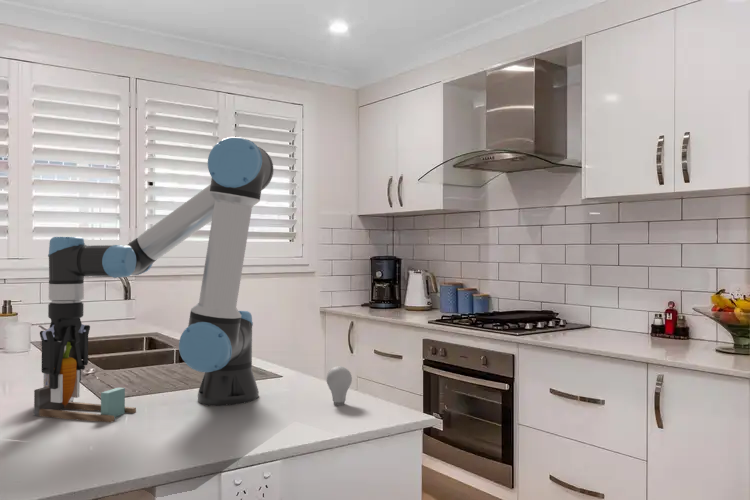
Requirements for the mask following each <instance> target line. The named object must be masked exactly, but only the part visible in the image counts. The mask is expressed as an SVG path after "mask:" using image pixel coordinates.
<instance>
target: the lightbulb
mask: <svg viewBox="0 0 750 500" xmlns="http://www.w3.org/2000/svg"><path fill="white" fill-rule="evenodd" d="M352 382H353V377H352V373H351V372H350V370H349V369H348V368H347V367H344V366H340V365H338V366H334V367H331V369H330V370H329V371H328V373H327V375H326V384H327V386H328V388H329V390H330V392H331V395H332V397H331V398H332V401H333V406H334V407H335V406H337V407H341V406H344V405H345V402H346V400H347V393H348V390H349V388H350V386H351V385H352Z"/></svg>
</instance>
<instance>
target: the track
mask: <svg viewBox="0 0 750 500" xmlns="http://www.w3.org/2000/svg"><path fill="white" fill-rule="evenodd" d="M33 393H34V397H33V398H34V399H33V400H34V402H33V403H34V404H33V407H34V408H33V409H34V410H33V412H34V413H33V415H34V417H44V418H45V417H46V418H47V417H48V418H52V419H53V418H55V419H56V418H57V419H65V420H75V419H78V420H79V421H87V422H88V421H89V422H91V421H92V422H103V423H104V422H105V423H113V422H115V417H114V416H113V415H103V414H101V413H90V412H81V411H71V410H79V409H82V411H94V410H99V411H98V412H101V403H100V404H99V403H89V402H80V401H72V402H68V404H67V405H66V406H64V405H63V404H62V402H61V403H56V402H51V389H50V387H49V386H47V387H44V386H43V387H40V388H37V389H34V390H33ZM63 409H67V410H63ZM125 413H126V414H134V413H137V407H133V406H125ZM125 413H124V414H125Z"/></svg>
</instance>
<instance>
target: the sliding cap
mask: <svg viewBox="0 0 750 500" xmlns="http://www.w3.org/2000/svg"><path fill="white" fill-rule="evenodd" d="M125 394H126V388H125V387H115V388H112V389H108V390H104V391H102V392H100V404H101V411H100V414H103V415H113V416H114V418H116V417H119V416H121V415H124V414H125V407H126V406H125V404H126V402H125V401H126V395H125Z"/></svg>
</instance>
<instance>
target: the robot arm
mask: <svg viewBox="0 0 750 500" xmlns="http://www.w3.org/2000/svg"><path fill="white" fill-rule="evenodd" d="M207 168H208V173H209V175H210V177H211V179H210V184H209V185H208V186H206V187H204V188H203V189H201V190H200V191H199V192H198V193H197V194H194V196H192V197H190V198H189V199H188V200H187V201H185V202H184V203H183V204H181V205H180V206H179V207H177V208H175V209H174V210H173V211H171V212H170V213H168V214H167V215H166V216H165V217H163V218H162V219H161V220H159V221H158V222H156V223H155V224H154V225H152V226H151V227H150V228H148V229H147V230H146V231H144V232H143V233H141V234H140V235H138V236H137V237H136V238H134V239H133V240H132V241H130V242H129V243H128V244H126V245H122V244H112V245H110V244H107V245H106V244H105V245H104V244H103V245H102V244H101V245H99V244H97V245H92V244H91V245H89V244H85V239H84V238H83V237H82V236H53V237H52V238H50V240H49V247H48V255H47V257H48V300H49V301H50V302H49V303H48V305H47V306H48V307H47V309H48V311H47V313H48V315H47V317H48V318H49V319H50V325H49V328H47V329H45V330H40V331H39V336H40V340H41V373H42V374H44V373H45V374H49V387H50V389H51V402H56V403H61V402H62V401H63V374H60V369H61V364H62V359H63V353H64V348H65V346H66V345H67V342H70V343H71V346H72V347H71V349H70V353H69V357H72V358H74V359H75V360H76V363H77V366H76V381H75V386H74V390H73V394H72V396H71V397H74V399H75V398H76V399H77V398H80V383H81V380H82V377H81V376H82V370H85V369H86V366H88V364H89V334H90V329H91V326H90V324H82V321H81V318H83V317H84V306H85V305H84V302H83V301H82V300H84V299H85V297H84V296H85V294H84V293H85V292H84V291H85V290H84V285H85V283H84V279H85V278H87V277H88V278H89V277H93V278H94V277H95V278H96V277H97V278H98V277H100V278H114V279H117V278H128V277H130V276H139V275H142V274H145V273H146V272H149V270H150V269H151V268H152V266H153V264H154V263H155V262H157V260H159V259H160V258H161V257H163V256H165V254H167V253H168V252H170V251H172V250H173V249H175V247H177V246H179V245H180V244H181V243H183V242H184V241H185V240H186V239H188V238H190V237H191V236H192V235H194V234H195V233H197V232H198V231H200V230H201V229H202V228H204V227H205V226H207V224H209V223H210V224H211V225H210V230H209V231H210V232H209V237H208V243H207V248H206V255H205V260H204V261H205V262H204V268H203V274H202V280H201V281H202V282H201V285H200V293H199V299H198V303H197V304H196V305H194V306H193V307H191V309H190V312H189V319H188V323H187V324H188V325H187V327H186V328H185V329H184V330H183V332H182V334H181V335H180V337H179V339H178V341H179V342H178V351H179V354H180V357H181V359H182V361H184V363H185V364H186V365H187V367H189V368H191V370H194V371H197V372H199V373H203V375H202V376H203V377H202V379H201V384H200V386H199V389H198V392H197V402H198V403H199V404H201V405H205V406H215V407H221V406H222V407H224V406H225V407H226V406H235V405H241V404H242V405H243V404H246V403H250V402H253V401H255V400H257V399H258V398H259V392H260V391H259V387H258V385H257V381H256V379H255V375H254V372H253V366H252V365H253V362H252V361H253V327H254V322H253V316H252V313H251V312H250V311H248V310H238V308H237V305H238V298H239V292H240V286H241V285H240V284H241V281H242V273H243V267H244V262H245V254H246V248H247V241H248V235H249V229H250V223H251V217H252V216H251V215H252V210H253V207H254V206H256V205H257V204H258V203H259V202H260V201H261V195H262V191H263V190H264V189H266V188H267V187H268V185H269V184H270V183H271V181H272V179H273V176H274V162H273V160H272V158H271V156H270V155H269V154H268V152H266V151H265V149H263V148H261V147H260V146H257V144H255V143H254V142H253V141H251V140H249V139H246V138H243V137H238V136H229V137H226V138H223V139H222V140H220V141H218V142H217V143H215V145H214V146H213V147H212V149H211V150H210V151H209V154H208V157H207ZM58 341H61V342H58ZM54 368H55V369H54Z"/></svg>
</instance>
